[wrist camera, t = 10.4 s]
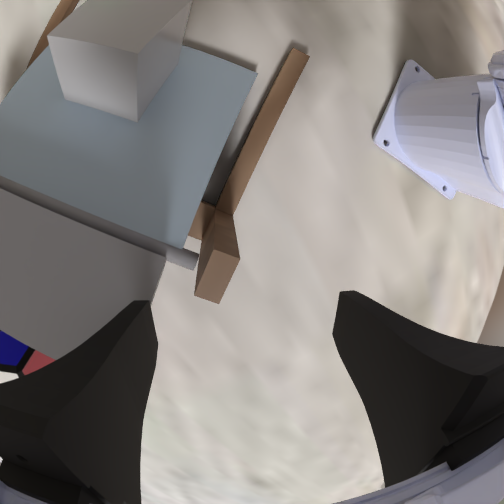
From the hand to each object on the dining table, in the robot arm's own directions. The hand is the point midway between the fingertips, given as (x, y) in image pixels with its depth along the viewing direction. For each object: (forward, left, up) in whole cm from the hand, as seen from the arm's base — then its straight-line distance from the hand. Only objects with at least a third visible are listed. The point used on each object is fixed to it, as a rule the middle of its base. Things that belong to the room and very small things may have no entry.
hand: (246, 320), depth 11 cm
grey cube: (+10, -7, -7) cm, 14 cm away
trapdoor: (+10, -2, -6) cm, 12 cm away
